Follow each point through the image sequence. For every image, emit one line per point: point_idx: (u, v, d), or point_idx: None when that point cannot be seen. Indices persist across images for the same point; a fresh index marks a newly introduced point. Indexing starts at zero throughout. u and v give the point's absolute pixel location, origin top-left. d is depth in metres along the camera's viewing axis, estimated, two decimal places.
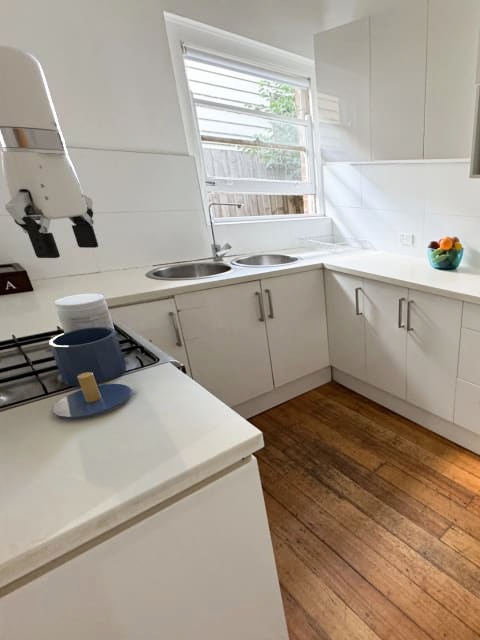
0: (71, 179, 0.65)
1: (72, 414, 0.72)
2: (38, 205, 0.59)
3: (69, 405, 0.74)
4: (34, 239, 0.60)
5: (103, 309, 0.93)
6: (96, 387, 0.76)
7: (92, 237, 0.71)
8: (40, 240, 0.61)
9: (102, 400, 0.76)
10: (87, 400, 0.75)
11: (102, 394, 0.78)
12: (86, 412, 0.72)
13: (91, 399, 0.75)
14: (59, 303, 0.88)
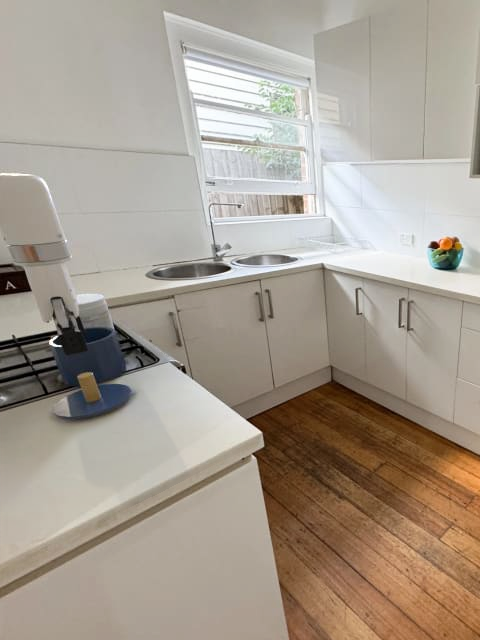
0: None
1: (72, 414, 0.72)
2: (70, 308, 0.66)
3: (69, 405, 0.74)
4: (67, 339, 0.66)
5: (103, 309, 0.93)
6: (96, 387, 0.76)
7: (81, 326, 0.75)
8: (74, 338, 0.67)
9: (102, 400, 0.76)
10: (87, 400, 0.75)
11: (102, 394, 0.78)
12: (86, 412, 0.72)
13: (91, 399, 0.75)
14: None
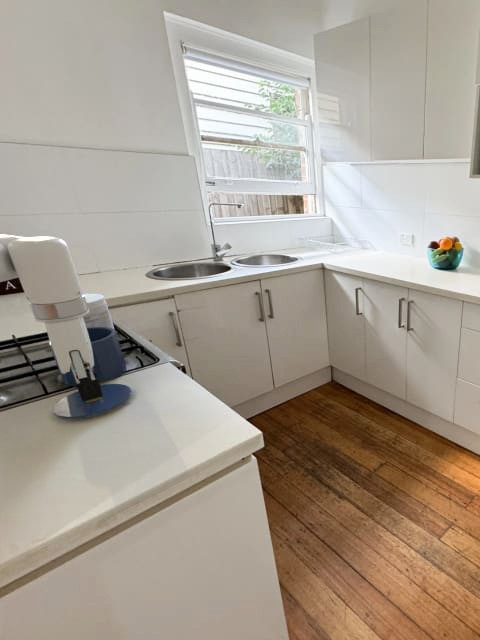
0: None
1: (72, 414, 0.72)
2: (86, 360, 0.70)
3: (69, 405, 0.74)
4: (85, 387, 0.73)
5: (103, 309, 0.93)
6: None
7: (97, 382, 0.77)
8: (91, 386, 0.73)
9: (102, 400, 0.76)
10: None
11: (102, 394, 0.78)
12: (86, 412, 0.72)
13: (91, 399, 0.75)
14: None
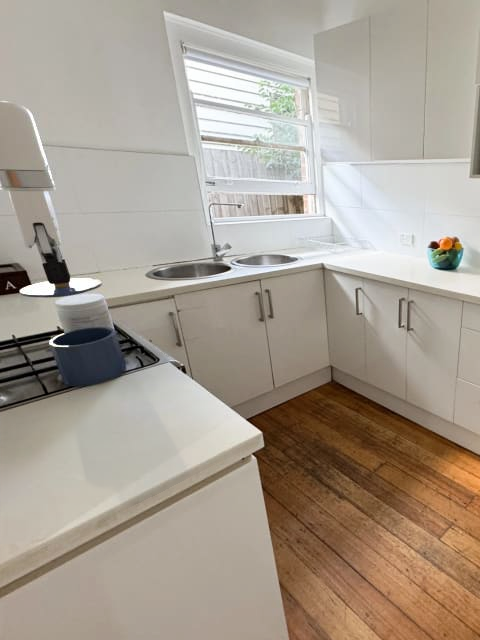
0: None
1: (38, 293, 0.71)
2: (51, 235, 0.69)
3: (37, 288, 0.74)
4: (51, 269, 0.72)
5: (103, 309, 0.93)
6: None
7: (66, 270, 0.77)
8: (58, 269, 0.73)
9: (70, 286, 0.76)
10: (55, 285, 0.75)
11: (71, 283, 0.78)
12: (52, 292, 0.72)
13: (59, 284, 0.75)
14: (59, 303, 0.88)
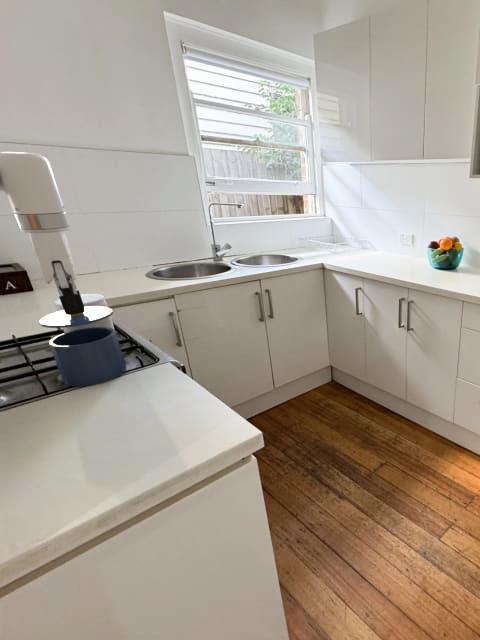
0: None
1: (56, 324, 0.77)
2: (68, 271, 0.75)
3: (54, 319, 0.80)
4: (68, 301, 0.79)
5: None
6: None
7: (80, 300, 0.83)
8: (73, 300, 0.79)
9: (85, 316, 0.82)
10: (71, 315, 0.81)
11: (85, 312, 0.84)
12: (69, 323, 0.78)
13: (74, 314, 0.81)
14: (59, 303, 0.88)
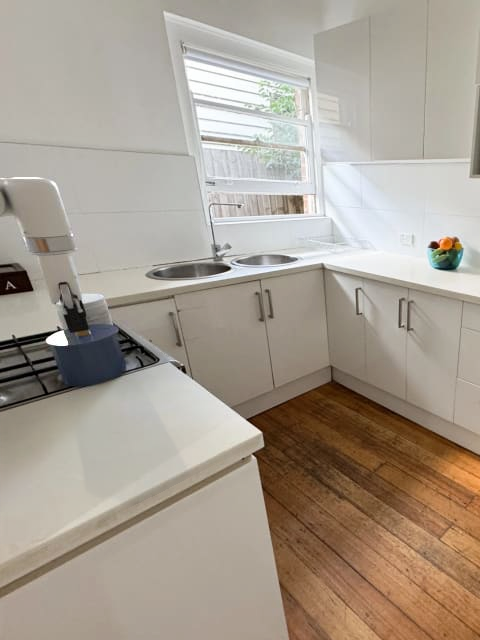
0: None
1: (63, 344, 0.79)
2: (74, 292, 0.77)
3: (61, 338, 0.82)
4: (72, 319, 0.77)
5: (103, 309, 0.93)
6: None
7: (83, 309, 0.86)
8: (78, 318, 0.78)
9: (91, 335, 0.84)
10: (77, 334, 0.83)
11: (91, 331, 0.86)
12: (76, 342, 0.80)
13: (81, 333, 0.83)
14: (59, 303, 0.88)
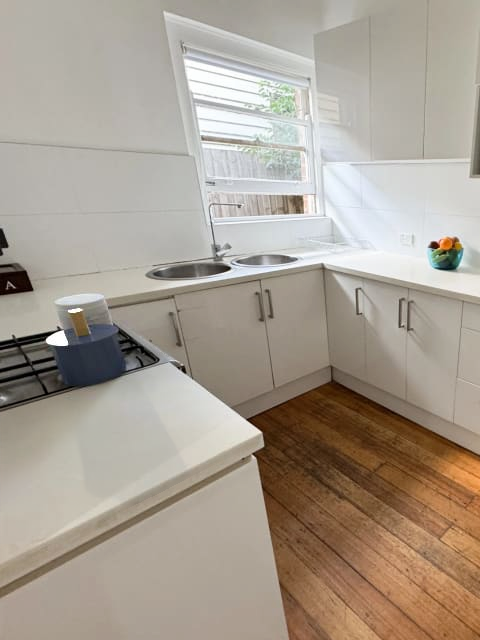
0: None
1: (63, 344, 0.79)
2: None
3: (61, 338, 0.82)
4: None
5: (103, 309, 0.93)
6: (85, 322, 0.83)
7: (4, 239, 0.79)
8: None
9: (91, 335, 0.84)
10: (77, 334, 0.83)
11: (91, 331, 0.86)
12: (76, 342, 0.80)
13: (81, 333, 0.83)
14: (59, 303, 0.88)
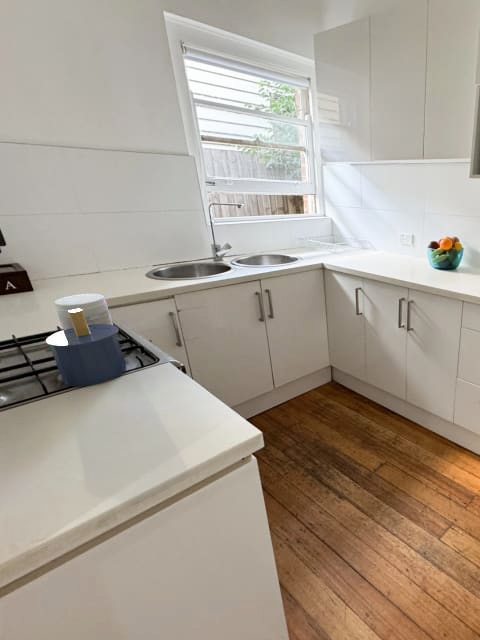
0: None
1: (63, 344, 0.79)
2: None
3: (61, 338, 0.82)
4: None
5: (103, 309, 0.93)
6: (85, 322, 0.83)
7: (1, 236, 0.79)
8: None
9: (91, 335, 0.84)
10: (77, 334, 0.83)
11: (91, 331, 0.86)
12: (76, 342, 0.80)
13: (81, 333, 0.83)
14: (59, 303, 0.88)
